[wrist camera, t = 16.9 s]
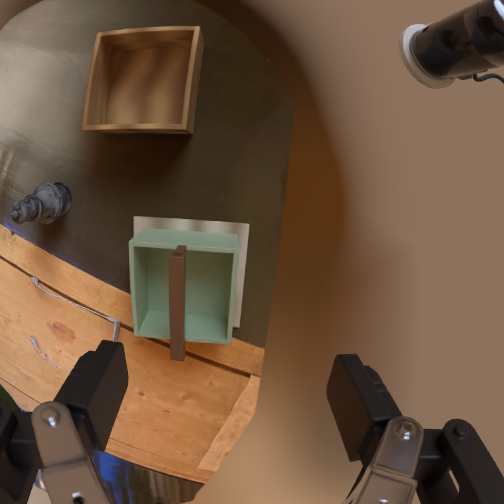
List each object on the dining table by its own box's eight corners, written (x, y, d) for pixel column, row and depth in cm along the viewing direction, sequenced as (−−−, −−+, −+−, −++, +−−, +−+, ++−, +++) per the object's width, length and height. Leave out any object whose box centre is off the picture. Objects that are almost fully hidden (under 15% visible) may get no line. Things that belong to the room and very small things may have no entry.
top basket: (237, 234, 42) (240, 261, 31) (230, 318, 45) (231, 364, 35) (143, 227, 40) (116, 252, 30) (145, 311, 44) (125, 354, 33)
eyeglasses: (112, 377, 48) (106, 391, 44) (31, 340, 45) (21, 351, 41) (124, 311, 44) (116, 323, 41) (32, 271, 41) (20, 280, 37)
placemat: (249, 223, 42) (249, 224, 41) (239, 325, 46) (239, 327, 46) (134, 216, 40) (133, 216, 40) (137, 317, 45) (137, 319, 44)
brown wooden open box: (204, 45, 34) (200, 26, 27) (193, 134, 38) (186, 129, 31) (115, 48, 33) (97, 32, 26) (103, 133, 36) (81, 130, 30)
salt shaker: (80, 198, 39) (35, 213, 27) (60, 226, 40) (15, 249, 28) (56, 172, 37) (8, 180, 26) (37, 201, 38) (-10, 216, 27)
